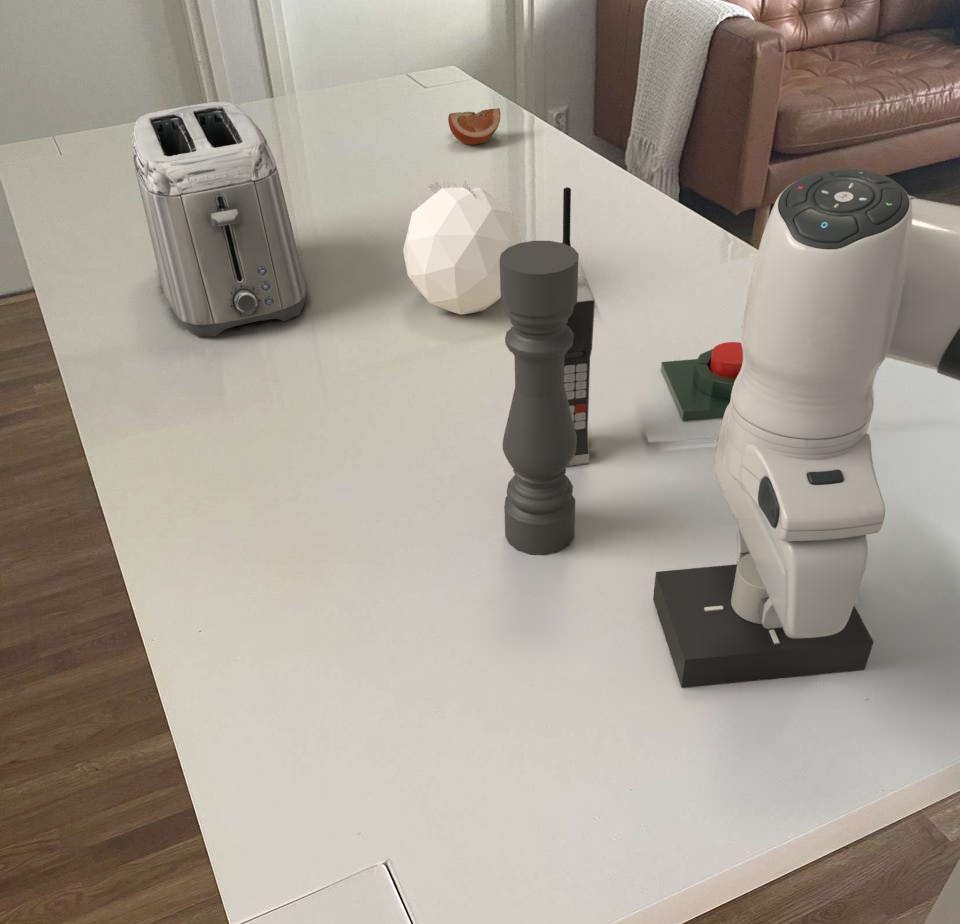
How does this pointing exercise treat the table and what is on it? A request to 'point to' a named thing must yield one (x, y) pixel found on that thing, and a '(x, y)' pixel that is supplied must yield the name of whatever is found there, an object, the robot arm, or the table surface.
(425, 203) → the geodesic sphere
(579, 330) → the vintage mobile phone
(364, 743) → the table surface
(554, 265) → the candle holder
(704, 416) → the housing
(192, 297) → the toaster
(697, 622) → the timer panel
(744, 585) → the timer knob
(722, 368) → the button
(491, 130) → the fruit slice
